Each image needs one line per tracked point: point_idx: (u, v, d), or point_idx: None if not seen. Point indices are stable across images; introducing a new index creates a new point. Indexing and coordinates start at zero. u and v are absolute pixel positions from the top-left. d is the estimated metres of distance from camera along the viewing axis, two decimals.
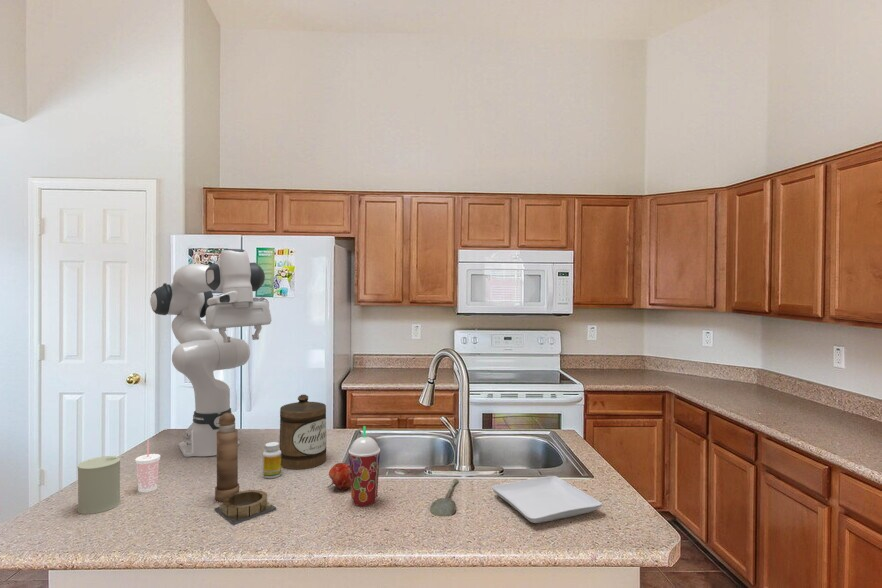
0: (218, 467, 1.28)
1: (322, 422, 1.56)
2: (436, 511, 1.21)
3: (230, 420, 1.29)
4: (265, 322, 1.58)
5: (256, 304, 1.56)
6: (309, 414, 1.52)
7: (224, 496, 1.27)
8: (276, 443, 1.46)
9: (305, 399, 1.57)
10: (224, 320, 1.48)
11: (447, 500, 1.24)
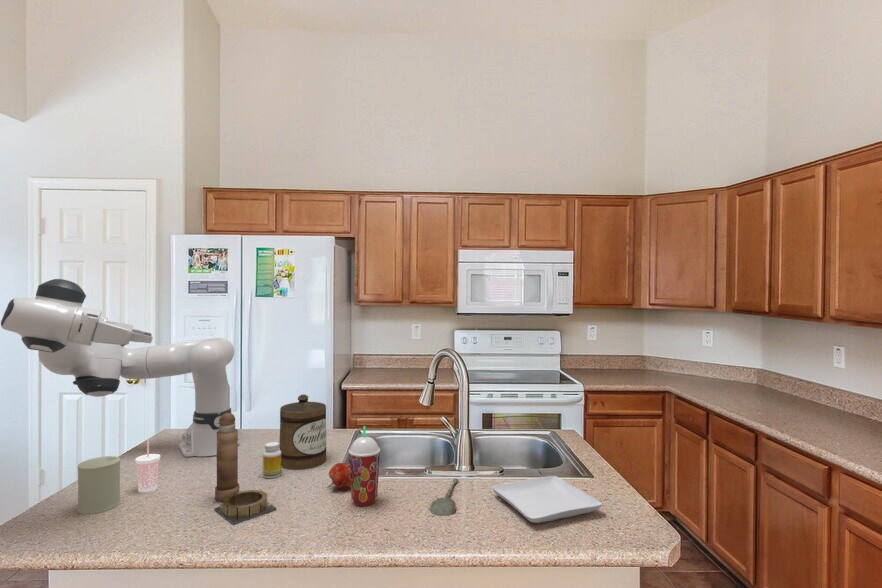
0: (218, 467, 1.28)
1: (322, 422, 1.56)
2: (436, 510, 1.21)
3: (230, 420, 1.29)
4: (131, 325, 1.30)
5: None
6: (309, 414, 1.52)
7: (224, 496, 1.27)
8: (276, 443, 1.46)
9: (305, 399, 1.57)
10: (122, 327, 1.17)
11: (447, 500, 1.24)
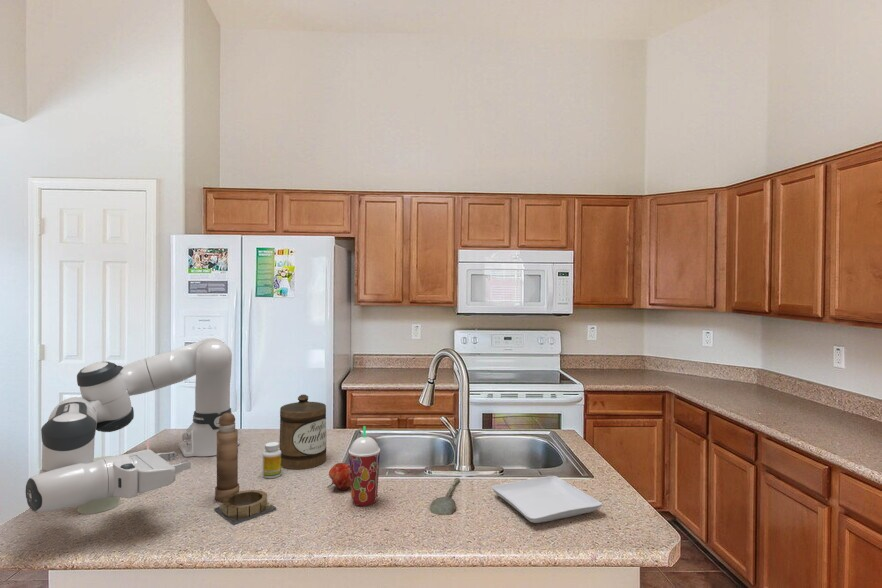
0: (218, 467, 1.28)
1: (322, 422, 1.56)
2: (436, 509, 1.21)
3: (230, 420, 1.29)
4: (150, 450, 1.23)
5: None
6: (309, 414, 1.52)
7: (224, 496, 1.27)
8: (276, 443, 1.46)
9: (305, 399, 1.57)
10: (160, 465, 1.13)
11: (447, 499, 1.24)
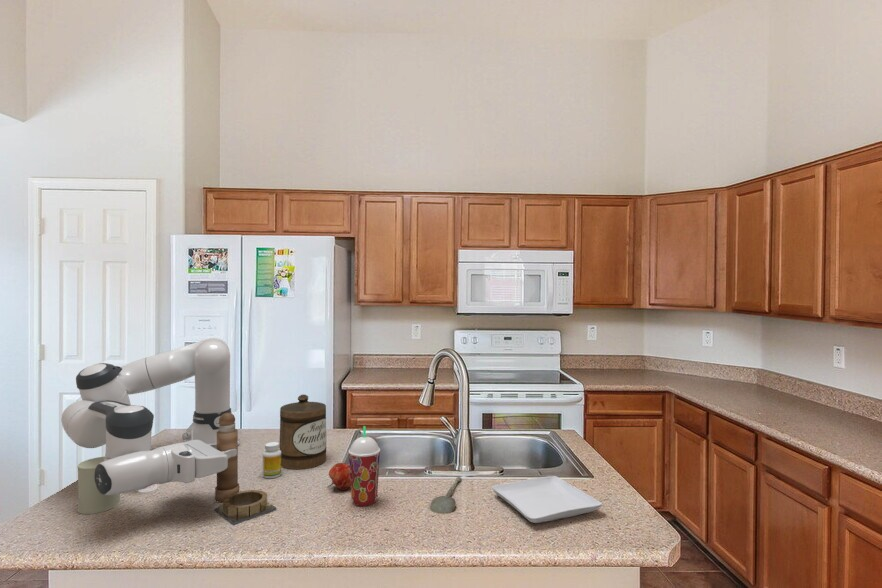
0: None
1: (322, 422, 1.56)
2: (436, 508, 1.22)
3: (230, 420, 1.29)
4: (199, 440, 1.32)
5: None
6: (309, 414, 1.52)
7: (224, 496, 1.27)
8: (276, 443, 1.46)
9: (305, 399, 1.57)
10: (213, 453, 1.22)
11: (447, 498, 1.25)
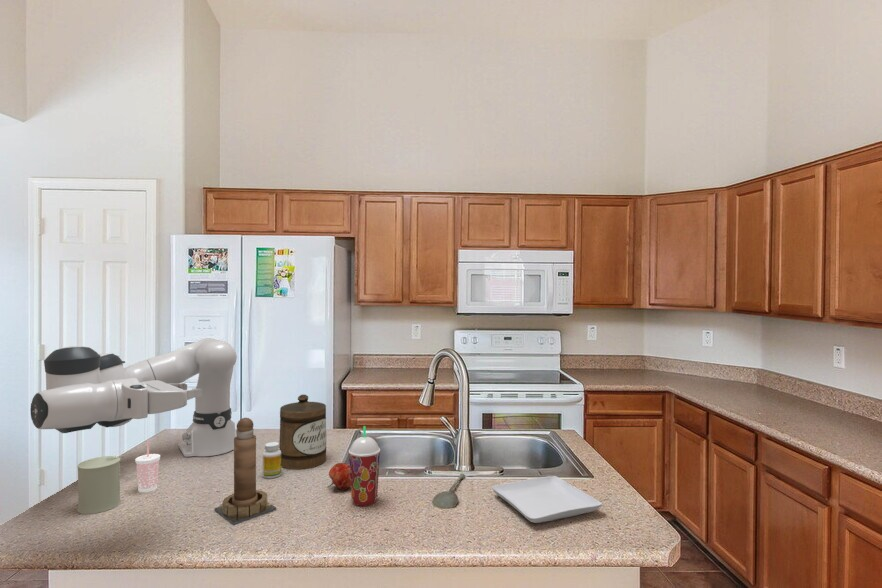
0: (236, 476, 1.20)
1: (322, 422, 1.56)
2: (438, 503, 1.25)
3: (249, 426, 1.21)
4: (159, 380, 1.19)
5: None
6: (309, 414, 1.52)
7: None
8: (276, 443, 1.46)
9: (305, 399, 1.57)
10: (170, 389, 1.08)
11: (449, 493, 1.28)
